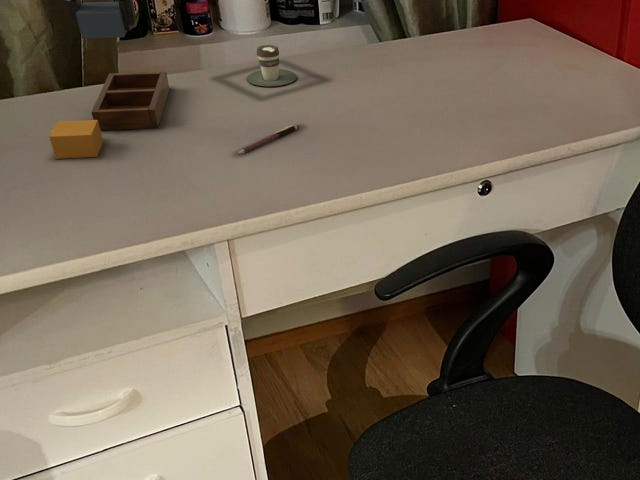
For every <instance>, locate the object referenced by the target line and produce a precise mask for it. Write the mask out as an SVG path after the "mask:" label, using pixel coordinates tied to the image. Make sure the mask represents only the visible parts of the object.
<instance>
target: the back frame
mask: <svg viewBox="0 0 640 480" xmlns="http://www.w3.org/2000/svg"><path fill="white" fill-rule="evenodd" d="M169 91H170V83H169V78H168V73H167V71H148V72H147V71H142V72H141V71H139V72H138V71H137V72H111V73H110V72H109V73H108V75H107V77H106V80H105V82H104V84H103V86H102V88H101V91H100V93H99V94H98V97H97V99H96V101H95V102H94V105H93V108H92V110H91V112H90V114H91V117H92V120H98V123H99V127H100V131H118V130H137V129H138V130H139V129H140V130H141V129H159V126H160V122H161V119H162V116H163V112H164V109H165V106H166V102H167V98H168V95H169Z"/></svg>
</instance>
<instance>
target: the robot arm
mask: <svg viewBox="0 0 640 480" xmlns="http://www.w3.org/2000/svg"><path fill="white" fill-rule="evenodd" d="M63 1H64V2H65V6H66V11H67V14H68V18H69V21H70V24H71V26H72V27H73V28H76V29H77V32H78V33H81V32H80V28H79V24H78V20H77V16H76V13H77V11H78V10H79V9H80V7H81V6H82V4H83V3H82V0H63ZM117 2H118V3H119V7H120V10H121V14H122V19H123V23H124V28H125V30H127V31H132V29H133V26H135V24H136V22H137V15H136V10H135V5H134V0H117Z"/></svg>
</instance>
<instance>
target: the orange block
mask: <svg viewBox="0 0 640 480" xmlns="http://www.w3.org/2000/svg"><path fill="white" fill-rule="evenodd" d="M48 137H49V140H50V144H51V148H52V152H53V154H54V158H55V160H61V159H80V158H81V159H83V158H97V157H98V155H99V152H100V151H101V149H102V146H103V143H104V139H103V135H102V130H100V127H99V123H98V120H93V119H83V120H82V119H81V120H64V121H63V120H62V121H59V120H58V121H56V123H55V125H54V127H53V129H52V131H51V132H50V135H49V136H48Z"/></svg>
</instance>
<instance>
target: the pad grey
mask: <svg viewBox="0 0 640 480" xmlns="http://www.w3.org/2000/svg"><path fill="white" fill-rule="evenodd" d="M81 4H82V6H81V7H80V9H79V10H78V11H77V13H76V16H77V20H78V24H79V28H80V32H79V33H80V36H81V39H110V38H111V39H113V38H117V39H118V38H125V36H126V34H127V32H128V30H125V28H124V23H123V19H122V14H121V10H120V7H119V3H118V1H89V2H87V1H86V2H83V3H81Z"/></svg>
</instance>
